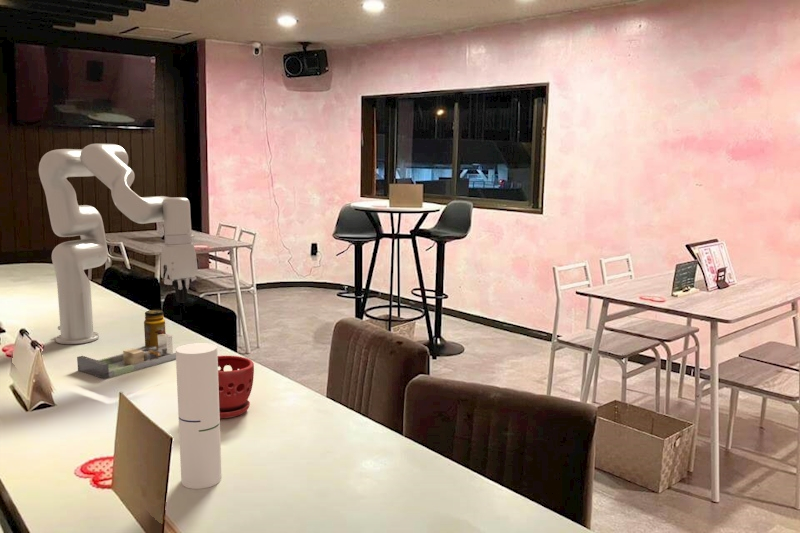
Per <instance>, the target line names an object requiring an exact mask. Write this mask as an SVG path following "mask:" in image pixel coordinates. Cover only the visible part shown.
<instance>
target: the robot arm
mask: <svg viewBox="0 0 800 533" xmlns="http://www.w3.org/2000/svg"><path fill="white" fill-rule="evenodd" d="M128 164H129V154H128V153H127V151H126V150H125V149H124V148H123V147H122V146H121V145H118V144H115V143H90V144H88V145H86V146H84V147H83V148H81V149H80V148H79V149H78V148H74V149H73V148H61V149H59V148H58V149H53V150H50V151H48V152H46V153H45V154H44V155H42V157H41V158H40V161H39V165H38V175H39V178H40V183H41V185H42V188H43V190H44V194H45V198H46V204H47V210H48V215H49V220H50V225H51V230H52V231H53V233H54V234H55V235H56V236H57V237H60V238H67V237H68V238H71V237H79V236H80V239H76V240H68V241H63V242H61V243H59V244H57V245H56V246H55V247H54V248H53V250H52V252H51V261H52V266H53V269H54V273H55V278H56V279H55V280H56V287H57V298H58V299H57V301H58V312H59V314H58V315H59V325H58V326H57V330H58V331H60V334H58V335H57V336H56V337H55V342H56V343H58V344H62V345H81V344H87V343H90V342H95V341H97V340H99V338H100V334H99V333H98V332H96V331H94V317H93V303H92V302H93V301H92V287H91V282H90V279H89V277H88V275H87V274H86V273H85V270H89V269H95V268H98V267H101V266H103V265H105V263H106V262H107V260H108V254H109V252H108V251H109V250H108V244H107V238H106V232H105V227H104V222H103V218H102V215H101V213H100V212H99V210H97V209H96V207H94V206H92V205H88V204H83V205H82V204H80V205H79V203H78V200H77V199H78V198H77V193H76V190H75V188H74V187H73V184H72V183H71V182H70V181H69V180H68V179H67V178H75V177H77V178H78V177H79V178H80V177H96V178H97V179H98V180H99V181H101V183H102V184H104V185H105V186H106V187H107V188H108V189H110V192H111V193H110V194H111V198H112V201H113V203H114V205H115V207H116V208H117V210H119V211H120V212H121V213H122V214H123V215H124V216H125V217H127V218H128V219H129V220H130V221H132V222H134V223H137V224H141V225H144V224H151V223H159V222H160V223H161V222H163V229H164V230H163V232H164V245H162V248H161V253H160V277H161V278H162V279H163V284H164V285H169V286H171V287H172V288H173V290H174V292H175V302H176V303H181V304H183V303H187V302H188V301H189V300H188V289H189V288H190V284H191V283H192V282H194V281H195V280H197V279H198V278H197V275H198V271H199V270H198V260H197V252H196V248H195V245H194V243H193V240H194V239H195V235H194V234H192V218H191V203H190V200H189V199H188V198H187V197H182V196H181V197H180V196H179V197H177V196H176V197H170V196H166V195H165V196H164V195H160V196H159V195H157V196H143V197H141V196H140V195H138V194H137V193H136V192H135V191H133V190H132V189H131V188H130V187H132V184H134V181H135V176H136V175H135V172H134V170H133V169H132V168H131V167H130V166H129V165H128Z"/></svg>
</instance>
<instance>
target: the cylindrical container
mask: <svg viewBox="0 0 800 533" xmlns="http://www.w3.org/2000/svg"><path fill="white" fill-rule="evenodd" d="M175 353H176V359H175V364H176V365H175V366H176V367H175V368H176V387H177V388H176V389H177V409H178V413H177V414H178V431H179V432H178V433H179V435H178V436H179V456H180V457H179V458H180V459H179V460H180V483H181V485H182V486H183V487H185V488H186V489H187V488H188V489H192V490H202V489H207V488H210V487H214V486H216V485H217V484H219V483H220V482H221V480H222V478H223V477H222V476H223V475H222V457H221V456H222V455H221V453H222V451H221V450H222V448H221V446H222V445H221V421H220V420H221V418H220V414H219V384H218V370H219V367H218V356H219V355H218V346H217V345H216V344H214V343H210V342H195V343H188V344H183V345H180V346H177V347H176V348H175Z"/></svg>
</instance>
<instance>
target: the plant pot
mask: <svg viewBox="0 0 800 533" xmlns="http://www.w3.org/2000/svg"><path fill="white" fill-rule="evenodd" d="M254 365H255V363H254V362H253V361H252V359H249V358H247V357H243V356H238V355H218V368H220V369H218V384H219V414H220V419H228V418H234V417H237V416H238V417H239V416H240V415H242V414H244V413H245V412H246V411H247V410H249V408H250V405H251V403H250V401H249V400H248V399H249V398H250V396H251V392H252V390H253V384H254V375H255V373H254V372H255V368H254V367H255V366H254ZM226 366H230V367H231V370H225V369H224V368H225V367H226ZM224 370H225V371H224Z"/></svg>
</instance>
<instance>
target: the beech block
mask: <svg viewBox="0 0 800 533" xmlns="http://www.w3.org/2000/svg"><path fill="white" fill-rule="evenodd" d="M122 354H123V357H124V363H126V364H129V365H132V364H136V363H140V362H143V361H144V352H143V351H140V349H136V348H129V349H125V350H122Z"/></svg>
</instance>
